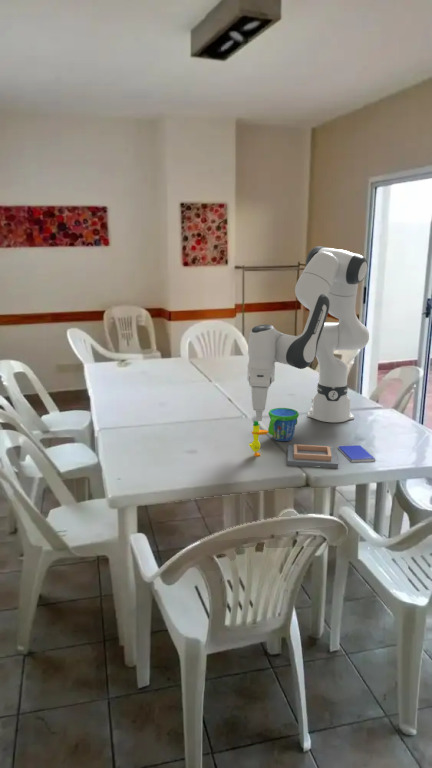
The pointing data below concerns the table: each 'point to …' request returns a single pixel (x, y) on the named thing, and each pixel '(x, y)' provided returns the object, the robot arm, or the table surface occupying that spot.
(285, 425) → the snack cup
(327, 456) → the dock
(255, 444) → the toy figure
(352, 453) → the hard drive
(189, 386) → the table surface
